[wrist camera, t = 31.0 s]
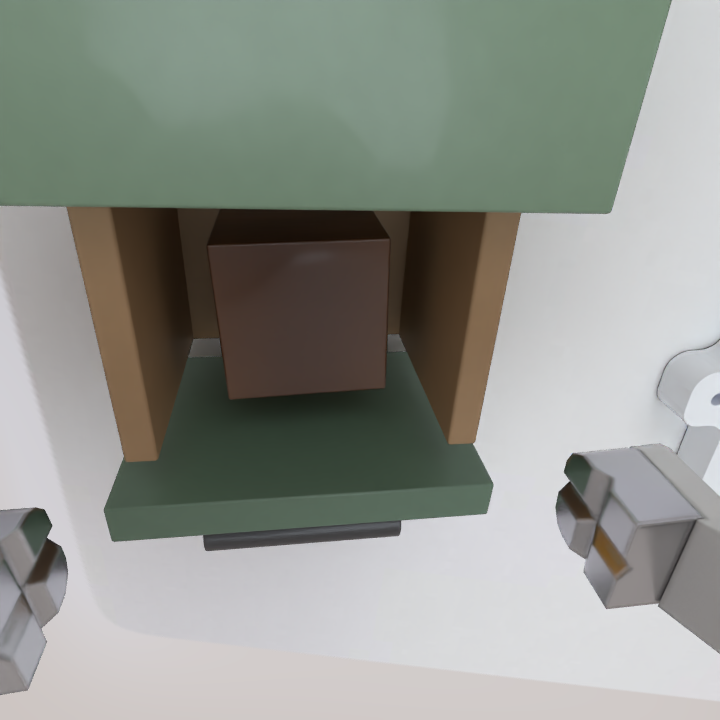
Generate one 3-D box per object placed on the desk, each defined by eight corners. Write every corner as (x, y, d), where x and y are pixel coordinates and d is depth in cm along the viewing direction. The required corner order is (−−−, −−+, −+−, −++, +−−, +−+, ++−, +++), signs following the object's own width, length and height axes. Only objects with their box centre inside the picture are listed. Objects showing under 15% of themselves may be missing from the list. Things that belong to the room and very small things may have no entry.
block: (364, 196, 17) (391, 237, 13) (363, 321, 19) (386, 389, 15) (221, 200, 16) (205, 244, 12) (238, 329, 18) (228, 400, 15)
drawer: (412, 452, 24) (466, 605, 17) (178, 465, 22) (137, 638, 16) (472, -19, 15) (628, -80, 8) (93, -49, 14) (-81, -151, 7)
